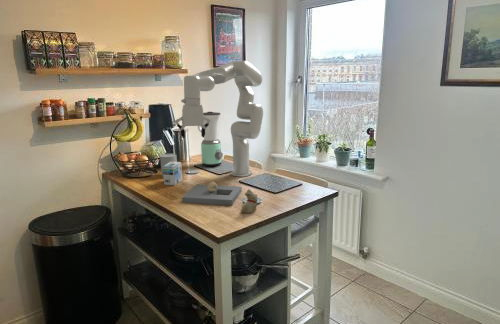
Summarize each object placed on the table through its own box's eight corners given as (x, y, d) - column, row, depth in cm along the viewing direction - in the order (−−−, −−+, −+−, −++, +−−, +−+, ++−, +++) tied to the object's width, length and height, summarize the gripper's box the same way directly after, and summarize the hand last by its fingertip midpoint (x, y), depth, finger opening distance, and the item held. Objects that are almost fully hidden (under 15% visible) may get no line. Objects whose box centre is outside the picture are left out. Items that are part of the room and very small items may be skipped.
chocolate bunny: (259, 212, 150) (259, 190, 147) (241, 213, 149) (240, 191, 146) (257, 207, 155) (256, 186, 153) (239, 209, 154) (239, 187, 151)
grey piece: (181, 174, 209) (179, 154, 206) (169, 178, 201) (168, 157, 198) (169, 172, 214) (168, 152, 211) (158, 176, 206) (156, 155, 203)
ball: (208, 189, 172) (208, 180, 171) (218, 190, 172) (218, 180, 170) (205, 193, 168) (205, 183, 166) (215, 193, 167) (215, 183, 166)
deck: (197, 188, 182) (196, 184, 181) (241, 191, 177) (241, 186, 177) (182, 202, 163) (182, 197, 162) (232, 205, 158) (232, 200, 158)
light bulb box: (175, 185, 188) (173, 166, 185) (163, 185, 189) (162, 165, 187) (182, 179, 198) (181, 161, 196) (171, 179, 199) (170, 161, 197)
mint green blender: (228, 164, 231) (226, 111, 223) (215, 168, 221) (213, 113, 212) (206, 160, 242) (204, 110, 233) (193, 164, 231) (190, 112, 222)
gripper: (175, 102, 160) (176, 139, 164) (211, 102, 166) (212, 137, 170) (172, 101, 167) (174, 137, 171) (208, 101, 173) (208, 135, 177)
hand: (193, 137), depth 170 cm, fingers open, 9 cm apart
